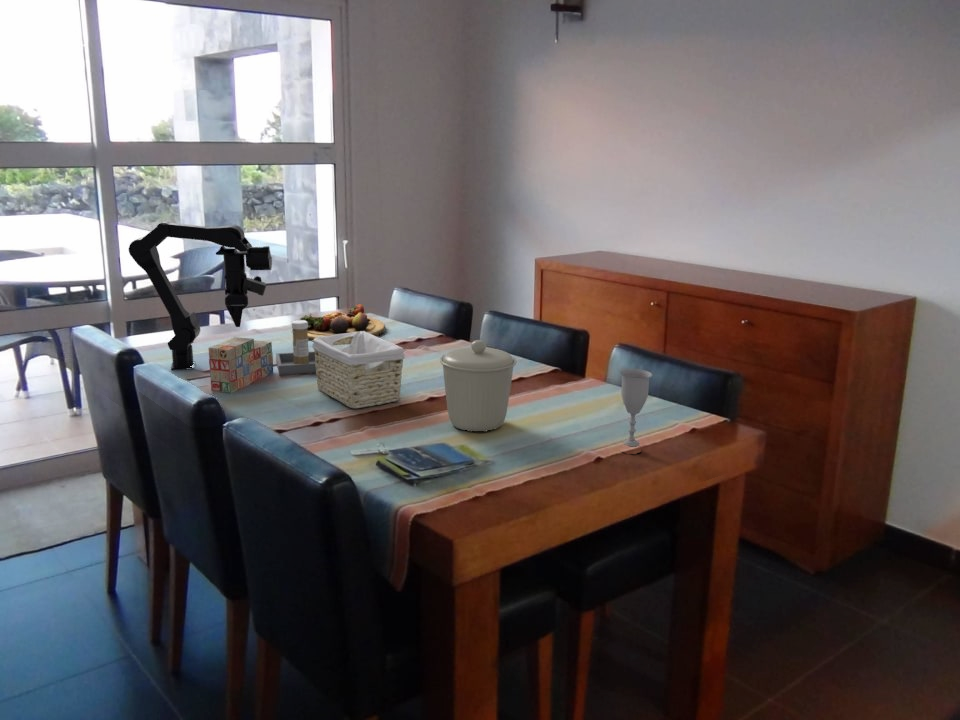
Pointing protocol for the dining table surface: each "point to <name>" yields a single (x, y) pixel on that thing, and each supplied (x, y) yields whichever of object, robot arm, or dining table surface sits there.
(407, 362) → the dining table surface
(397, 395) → the storage basket
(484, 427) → the canister
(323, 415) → the dining table surface
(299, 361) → the sprinkles bottle
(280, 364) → the box
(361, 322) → the wooden plate with food
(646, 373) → the chalice
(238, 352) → the stack of blocks
